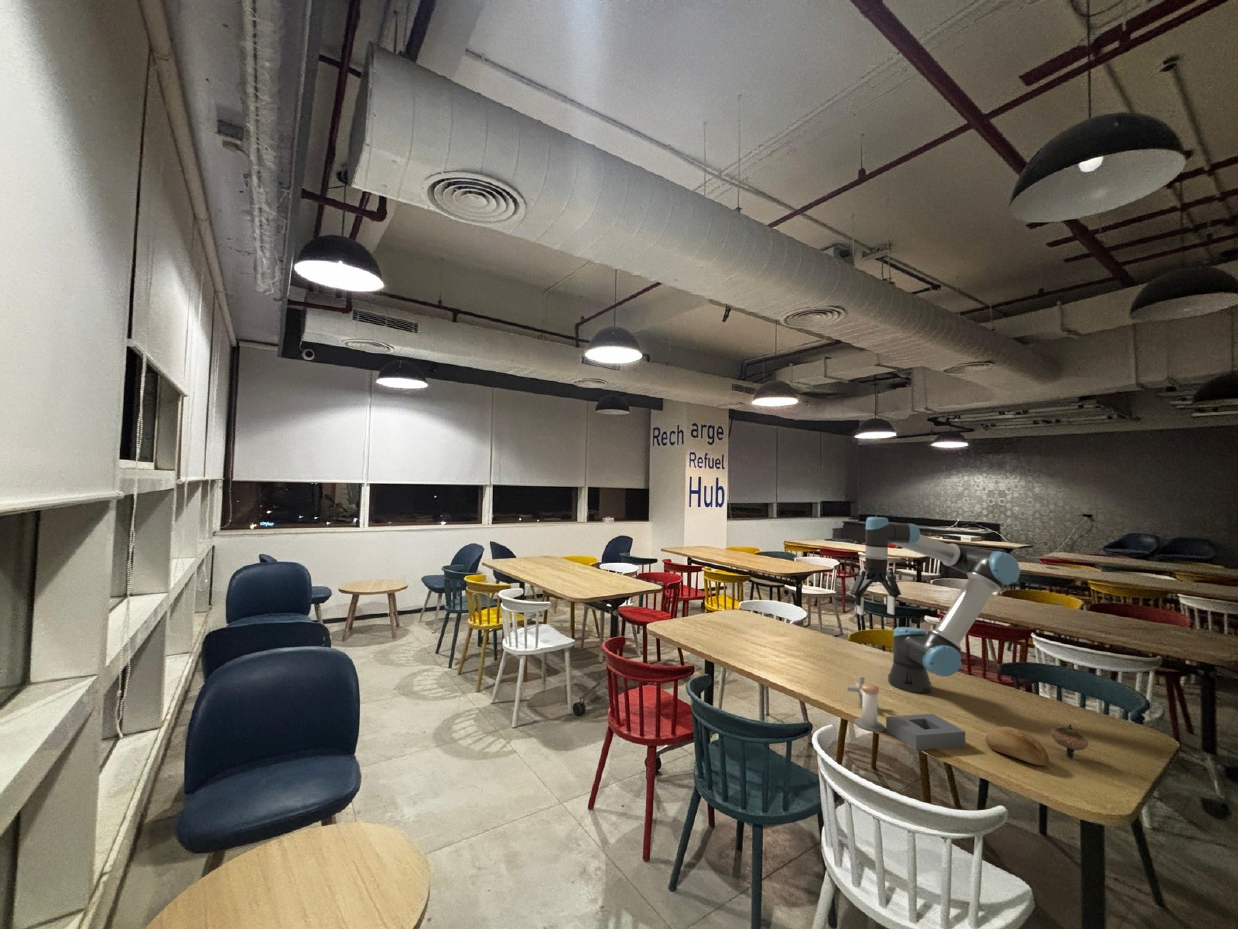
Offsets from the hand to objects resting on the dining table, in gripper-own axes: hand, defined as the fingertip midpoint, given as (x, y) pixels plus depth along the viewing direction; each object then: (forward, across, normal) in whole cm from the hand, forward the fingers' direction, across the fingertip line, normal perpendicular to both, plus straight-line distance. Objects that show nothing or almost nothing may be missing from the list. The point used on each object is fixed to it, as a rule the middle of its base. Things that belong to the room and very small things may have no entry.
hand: (875, 614), depth 184 cm
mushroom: (+31, +17, +18) cm, 40 cm away
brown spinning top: (+32, -31, +44) cm, 63 cm away
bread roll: (+32, -14, +41) cm, 54 cm away
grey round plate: (+32, +17, +18) cm, 40 cm away
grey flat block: (+32, +5, +28) cm, 43 cm away
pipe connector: (+32, +8, +3) cm, 33 cm away
